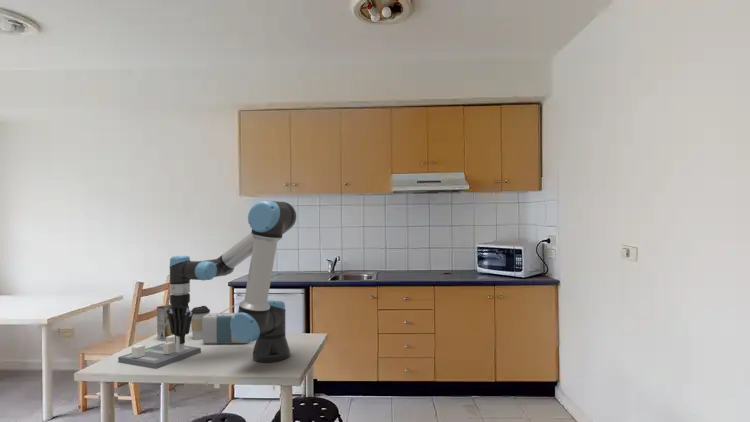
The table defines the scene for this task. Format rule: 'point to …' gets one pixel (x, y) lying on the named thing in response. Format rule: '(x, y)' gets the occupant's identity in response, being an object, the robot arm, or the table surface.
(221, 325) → the stereo radio cassette player
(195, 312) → the coffee cup
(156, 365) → the breaker panel
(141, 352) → the block
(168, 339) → the breaker handle
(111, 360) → the table surface
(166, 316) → the coffee box
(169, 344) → the block
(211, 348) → the table surface
